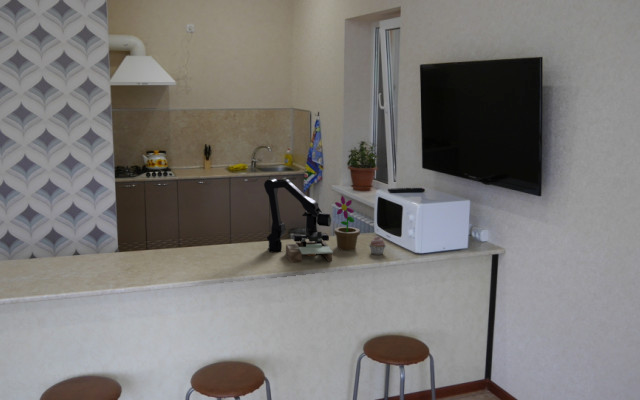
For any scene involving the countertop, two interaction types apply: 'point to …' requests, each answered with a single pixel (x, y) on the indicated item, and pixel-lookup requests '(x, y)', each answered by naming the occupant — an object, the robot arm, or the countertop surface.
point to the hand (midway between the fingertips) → (310, 252)
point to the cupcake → (377, 246)
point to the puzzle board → (296, 255)
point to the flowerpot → (346, 228)
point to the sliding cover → (315, 249)
